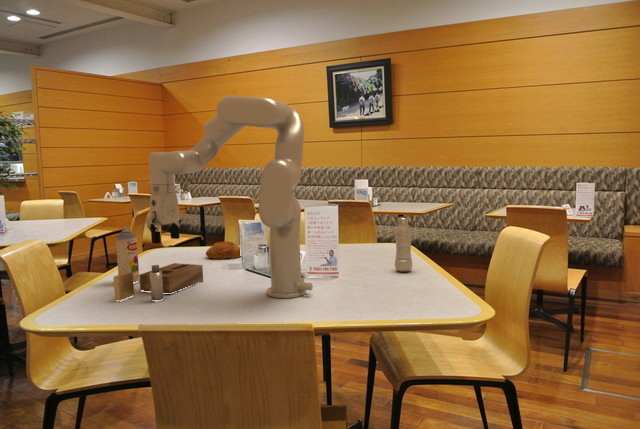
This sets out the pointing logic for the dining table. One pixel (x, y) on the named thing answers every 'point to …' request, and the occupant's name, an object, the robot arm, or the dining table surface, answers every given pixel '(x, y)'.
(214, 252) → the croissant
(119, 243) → the aerosol can
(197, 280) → the socket block
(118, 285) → the tan wooden block
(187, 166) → the robot arm
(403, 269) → the plastic bottle
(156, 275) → the small grey capped bottle
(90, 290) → the dining table surface
